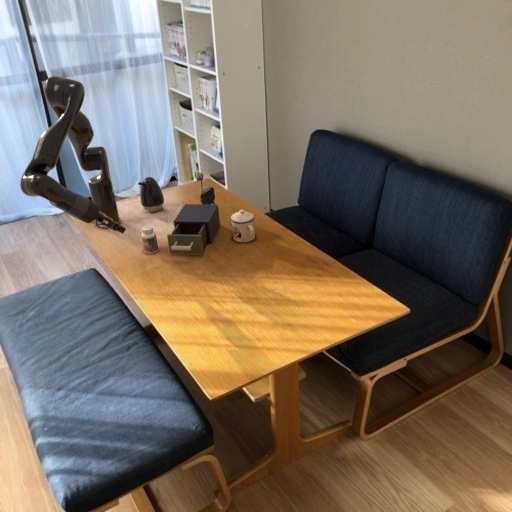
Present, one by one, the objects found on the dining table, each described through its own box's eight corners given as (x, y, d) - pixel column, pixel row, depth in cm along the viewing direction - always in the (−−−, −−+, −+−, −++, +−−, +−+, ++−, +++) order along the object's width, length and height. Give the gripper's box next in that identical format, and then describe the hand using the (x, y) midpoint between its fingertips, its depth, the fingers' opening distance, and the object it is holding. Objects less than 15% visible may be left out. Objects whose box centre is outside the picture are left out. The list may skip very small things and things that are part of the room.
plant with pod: (222, 213, 220) (217, 168, 210) (198, 220, 215) (193, 175, 205) (212, 207, 226) (208, 163, 216) (190, 214, 221) (184, 170, 211)
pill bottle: (143, 254, 192) (138, 231, 187) (145, 247, 197) (141, 224, 192) (157, 253, 192) (153, 230, 187) (159, 246, 197) (155, 224, 192)
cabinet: (211, 243, 197) (208, 221, 192) (176, 242, 199) (173, 221, 194) (220, 225, 210) (218, 204, 205) (187, 224, 212) (184, 204, 208)
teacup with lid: (228, 236, 201) (225, 209, 195) (248, 230, 205) (246, 203, 199) (243, 248, 192) (241, 220, 186) (264, 241, 195) (262, 213, 190)
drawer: (199, 261, 183) (196, 243, 180) (165, 260, 185) (162, 242, 182) (212, 235, 200) (210, 218, 196) (181, 235, 202) (178, 218, 199)
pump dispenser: (137, 210, 228) (131, 178, 220) (157, 202, 234) (152, 171, 226) (150, 216, 221) (144, 183, 214) (170, 209, 227) (165, 176, 220)
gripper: (95, 203, 165) (133, 224, 177) (77, 192, 175) (114, 212, 187) (84, 224, 165) (122, 242, 177) (66, 211, 174) (104, 230, 186)
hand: (118, 227), depth 182 cm, fingers open, 8 cm apart
